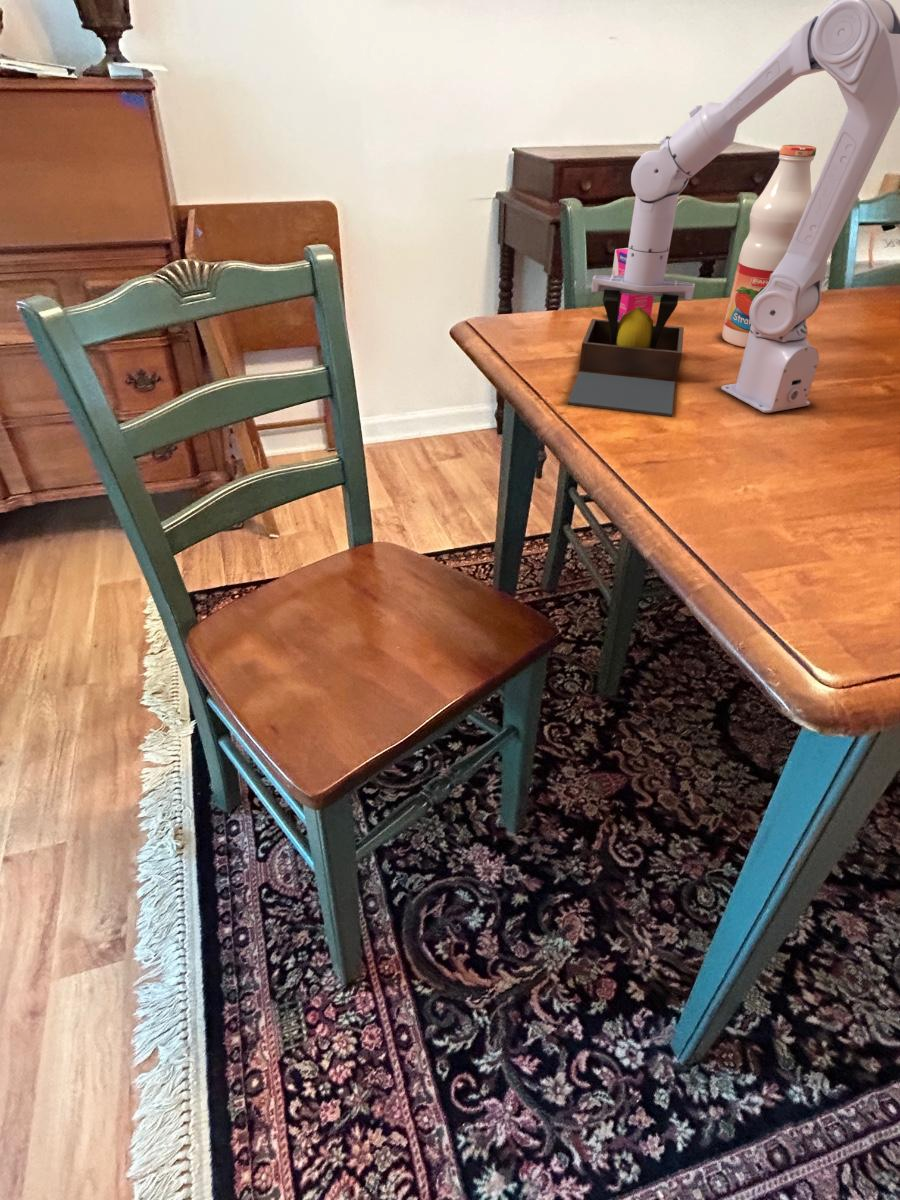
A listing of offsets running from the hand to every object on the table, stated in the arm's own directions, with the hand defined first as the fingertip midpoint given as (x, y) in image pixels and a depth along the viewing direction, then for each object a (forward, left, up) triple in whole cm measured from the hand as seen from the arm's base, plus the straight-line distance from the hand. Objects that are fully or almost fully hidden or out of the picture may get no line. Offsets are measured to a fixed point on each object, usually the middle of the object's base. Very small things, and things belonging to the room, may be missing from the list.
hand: (633, 344), depth 114 cm
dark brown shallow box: (0, 0, -3) cm, 3 cm away
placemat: (-10, +8, -3) cm, 14 cm away
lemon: (0, 0, -3) cm, 3 cm away
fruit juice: (+2, -25, -3) cm, 25 cm away
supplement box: (+19, -12, -3) cm, 23 cm away
